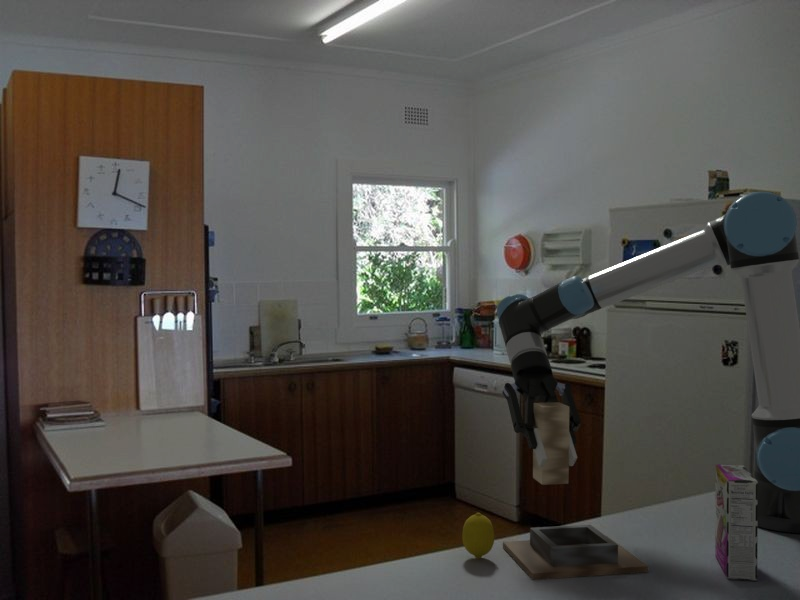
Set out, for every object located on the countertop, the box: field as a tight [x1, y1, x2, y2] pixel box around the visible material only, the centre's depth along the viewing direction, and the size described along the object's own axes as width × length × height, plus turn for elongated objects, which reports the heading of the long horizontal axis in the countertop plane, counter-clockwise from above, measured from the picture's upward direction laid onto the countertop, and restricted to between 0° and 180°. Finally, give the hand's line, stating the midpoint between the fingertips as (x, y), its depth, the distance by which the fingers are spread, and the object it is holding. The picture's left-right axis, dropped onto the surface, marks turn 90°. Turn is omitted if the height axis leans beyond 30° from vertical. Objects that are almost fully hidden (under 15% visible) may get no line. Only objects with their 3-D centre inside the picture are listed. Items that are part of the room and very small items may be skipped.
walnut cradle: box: [502, 524, 649, 581], centre depth 141 cm, size 20×16×4 cm
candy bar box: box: [714, 463, 759, 582], centre depth 136 cm, size 11×5×16 cm, turn 168°
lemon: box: [461, 512, 495, 560], centre depth 141 cm, size 6×6×8 cm
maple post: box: [532, 401, 570, 486], centre depth 149 cm, size 5×5×14 cm
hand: (558, 462), depth 146 cm, fingers closed on maple post, 5 cm apart
